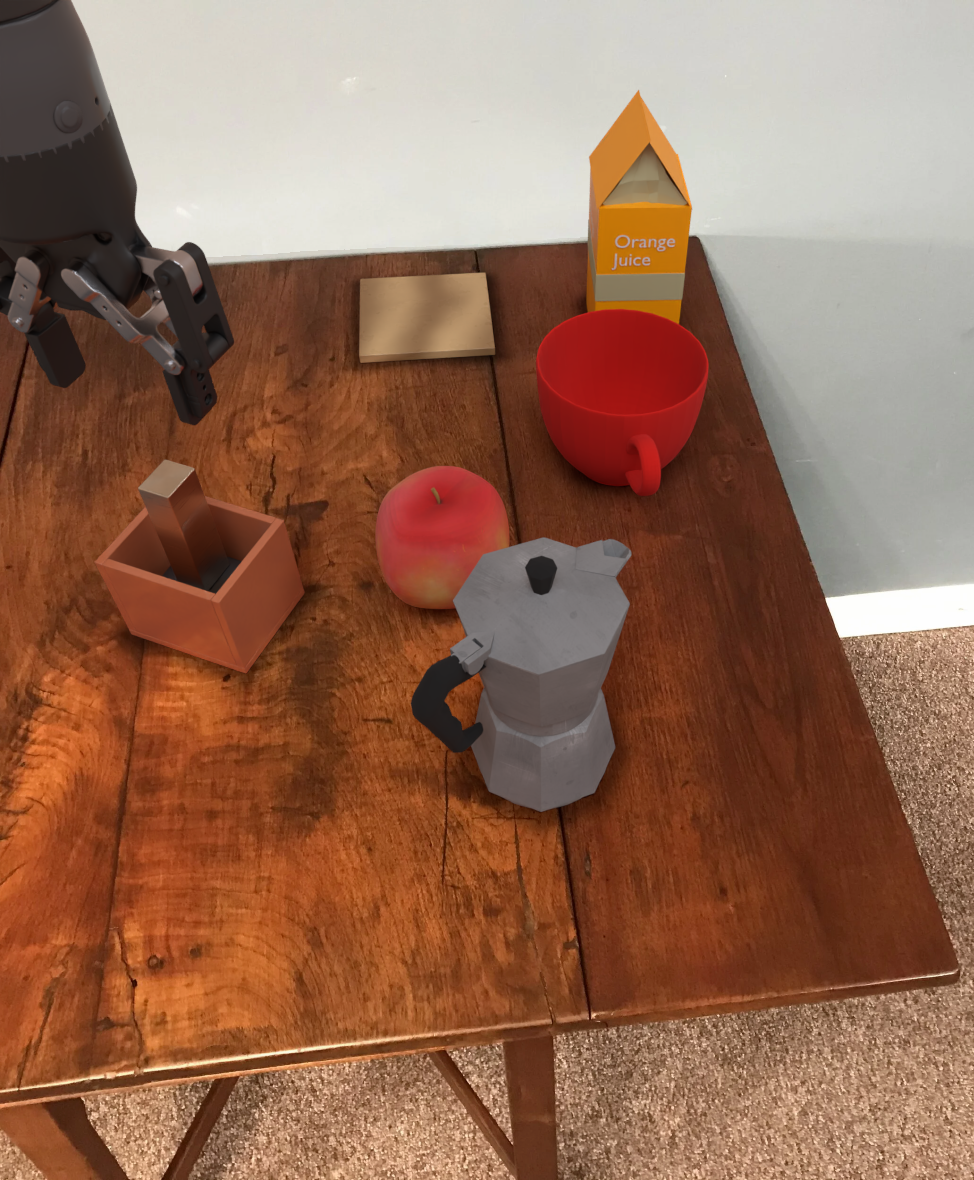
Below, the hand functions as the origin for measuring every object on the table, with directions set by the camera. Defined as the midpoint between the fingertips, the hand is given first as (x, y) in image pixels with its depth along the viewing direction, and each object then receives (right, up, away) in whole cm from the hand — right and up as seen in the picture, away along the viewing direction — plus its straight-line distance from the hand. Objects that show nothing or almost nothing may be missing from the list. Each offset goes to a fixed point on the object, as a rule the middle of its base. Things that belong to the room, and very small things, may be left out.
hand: (133, 396), depth 58 cm
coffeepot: (+22, -22, +8) cm, 32 cm away
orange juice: (+29, +13, +38) cm, 50 cm away
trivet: (+10, +14, +38) cm, 42 cm away
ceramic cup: (+28, -2, +25) cm, 38 cm away
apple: (+15, -11, +17) cm, 25 cm away
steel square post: (-1, -12, +14) cm, 19 cm away
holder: (-1, -12, +15) cm, 20 cm away
